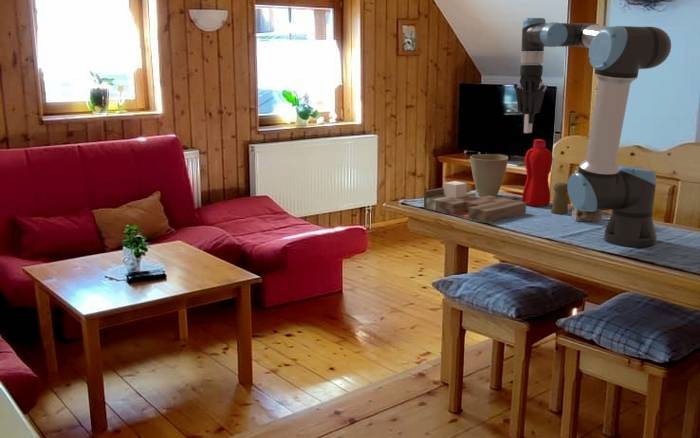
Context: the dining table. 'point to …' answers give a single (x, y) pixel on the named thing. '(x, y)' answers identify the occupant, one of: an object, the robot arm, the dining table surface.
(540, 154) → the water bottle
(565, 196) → the cork
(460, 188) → the block
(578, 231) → the dining table surface
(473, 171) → the plant pot
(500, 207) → the wooden board
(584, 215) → the coffee box
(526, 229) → the dining table surface
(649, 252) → the dining table surface
